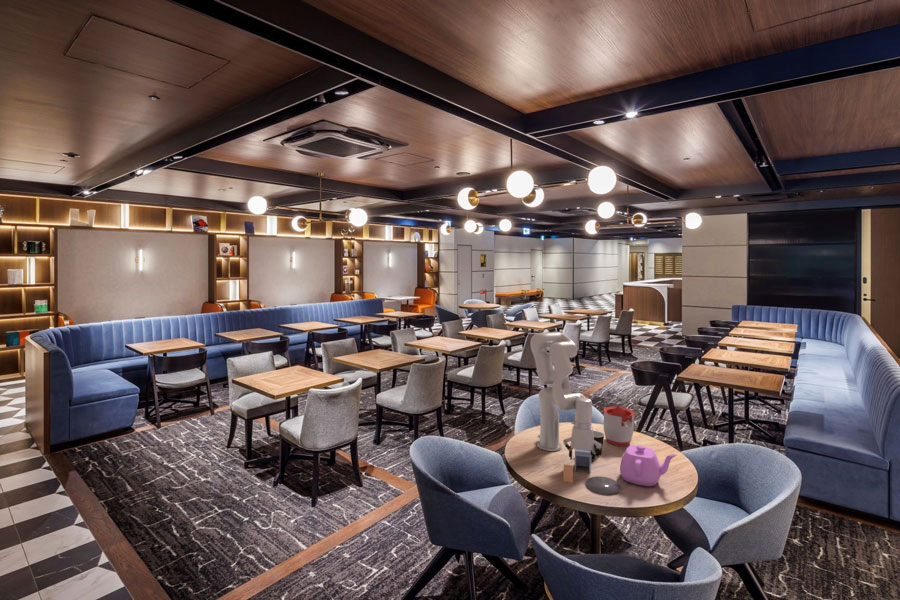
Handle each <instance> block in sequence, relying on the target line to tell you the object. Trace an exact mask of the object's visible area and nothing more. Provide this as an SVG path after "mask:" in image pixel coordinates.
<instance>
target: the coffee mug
mask: <svg viewBox="0 0 900 600" xmlns="http://www.w3.org/2000/svg"><path fill="white" fill-rule="evenodd" d="M593 433H594V440H595V441H597V442H598V443H600V444H602V447H601V448H600V450H599V451H598V452H597V453H596V454H595V457H600V456H602V453H603V446H604V438H605V433H604V432H601V431H598V430H593ZM597 447H598V446H597V445H595V444H594V449H596V448H597ZM599 455H600V456H599ZM591 456H592V451H591Z"/></svg>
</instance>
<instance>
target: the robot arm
mask: <svg viewBox="0 0 900 600" xmlns="http://www.w3.org/2000/svg"><path fill="white" fill-rule="evenodd" d="M546 349H547V350H548V351H547V350H546ZM530 350H531V352H532V353H531V354H532V355H533V358H534V362H535V367H536V372H537V377H538V382H539V383H540V384H541V385H542V386H543V385H544V386H545V385H548V386H549V385H552V386H549V387H544V388H542V389H540V391H539V392H538V399H539V401H538V402H539V408H540V409H539V410H540V413H539V414H540V420H539V421H540V422H539V423H540V424H539V425H540V427H539V428H540V429H539V431H540V432H539V433H540V434H538V435H537V439H539V441H538V442H537V443H536V445H537V447H539V448H538V449H540V450H542V449H543V451H545V450H546V452H557V451H560V450H562V448H563V445H562V443H560V413H559V411H558V410H560V411H571V410H574V420H571V425H573V426H572V430H571V435H570V436H571V437H567V438H566V439H563V441H562V442H563V444H564V446H565V448H566V449H567V451H568V457H569V458H570V461H571V460H573V450H575V449H579V450H587V451H592V455H591V463H594V461H595V460H596V456H595V454H596V453H597V452H598V451H599V450H600V448H601V447H602V444H600V443H598V442H597V441H595V440H594V433H593V431H594V429H593V427H592V421H593V420H592V419H593V418H592V417H593V416H592V415H593V401H592V399H590V398H587V396H585V395H584V394H583V393H581V392H572V388H571V387H572V386H571V383H570V375H571V374H572V373H573V372H574V369H573V366H572V362H571V360H570V358H575V357H576V356H577V355H578V348H577V344H576V343H575V342H574V341H573V340H572V339H570V337H568V336H567V335H565V334H564V333H562V332H560V331H552V332H548V331H547V332H540V333H539V332H538V333H536V334H535V333H534V335H533V336H532V337H531V338H530ZM556 407H557V408H558V409H557V408H556ZM569 442H570V445H569V444H568V443H569ZM594 444H595V445H597V446H598V447H597V448H596V449H594ZM602 448H603V447H602Z"/></svg>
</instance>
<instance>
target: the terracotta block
mask: <svg viewBox="0 0 900 600" xmlns="http://www.w3.org/2000/svg"><path fill="white" fill-rule="evenodd" d="M563 482H564V483H573V482H574V465H571V464H563Z"/></svg>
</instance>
